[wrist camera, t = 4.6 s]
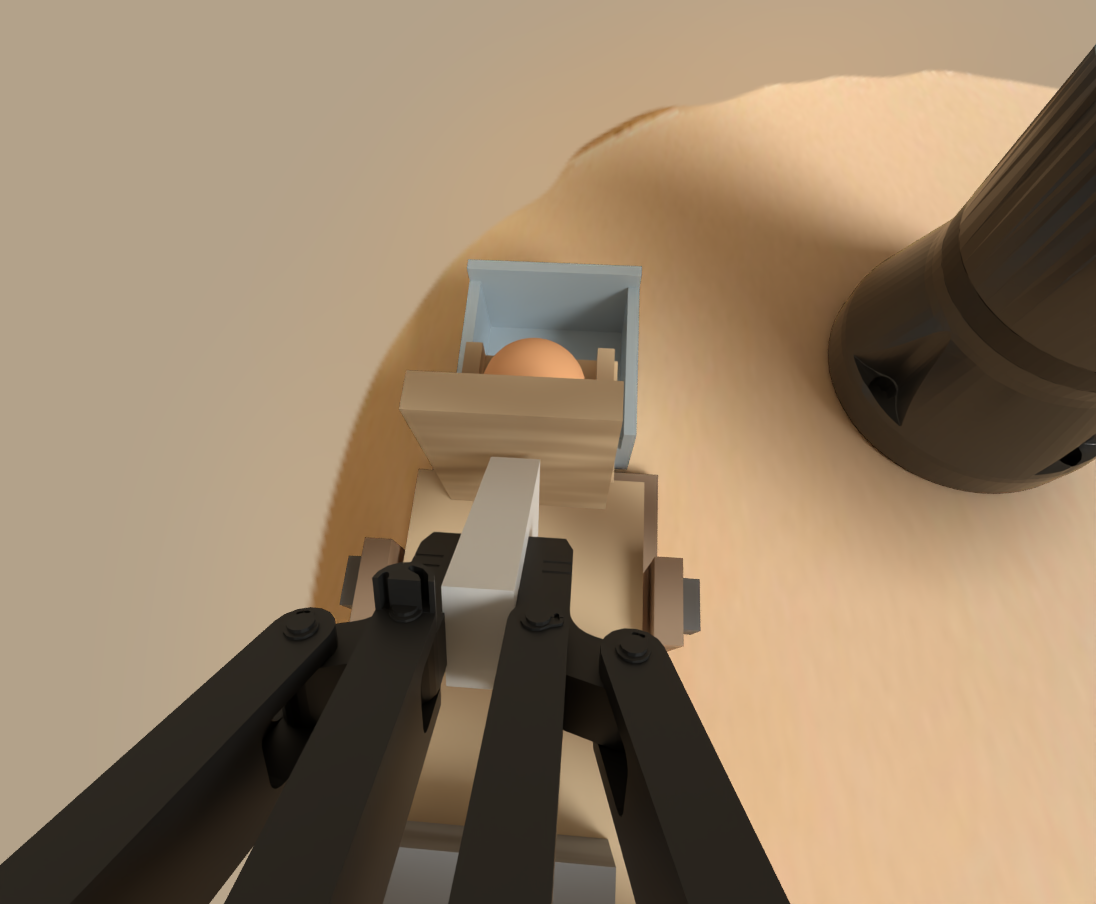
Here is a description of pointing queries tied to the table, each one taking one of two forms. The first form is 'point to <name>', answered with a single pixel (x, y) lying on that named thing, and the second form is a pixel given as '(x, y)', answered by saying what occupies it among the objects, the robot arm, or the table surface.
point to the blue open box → (560, 317)
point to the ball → (535, 360)
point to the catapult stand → (664, 588)
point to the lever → (596, 602)
